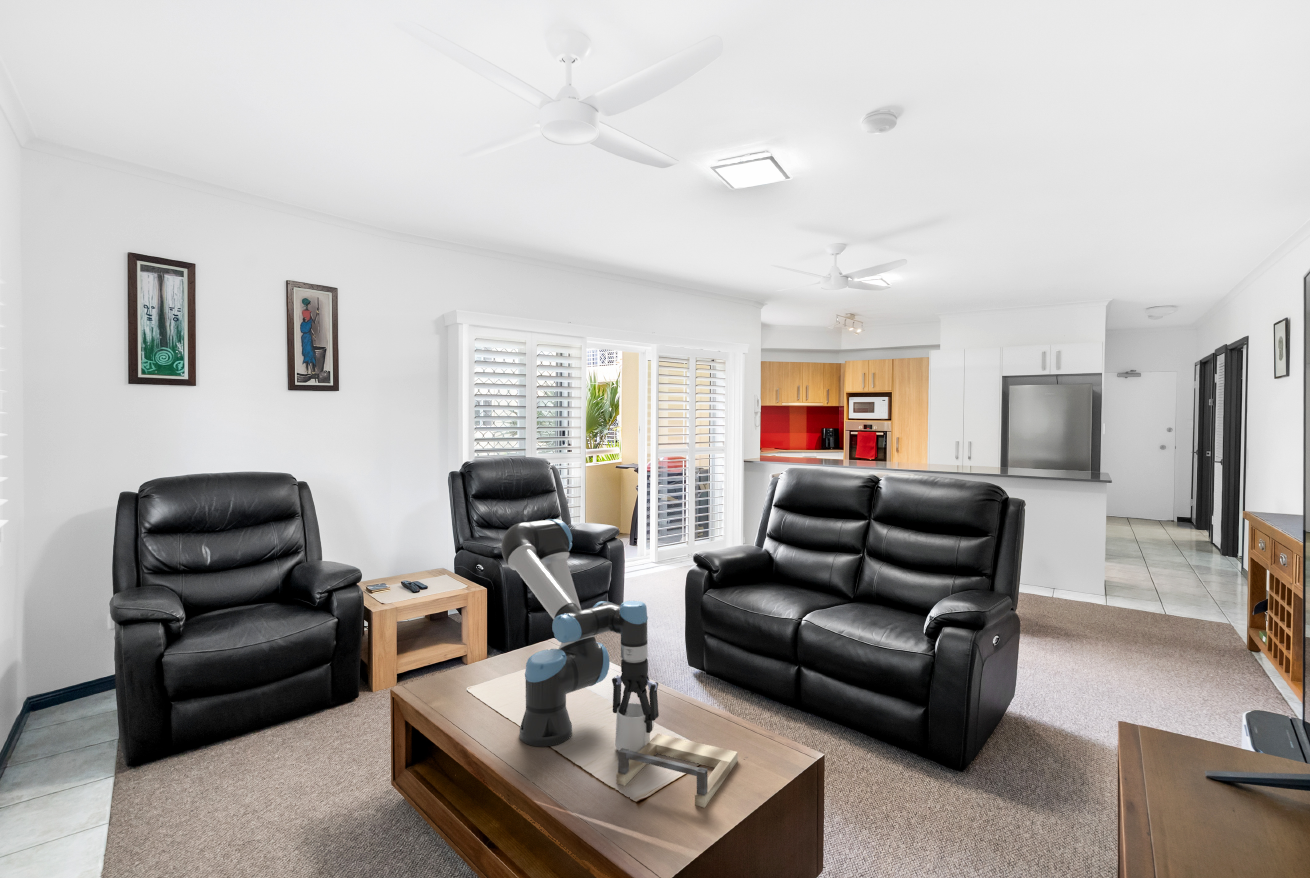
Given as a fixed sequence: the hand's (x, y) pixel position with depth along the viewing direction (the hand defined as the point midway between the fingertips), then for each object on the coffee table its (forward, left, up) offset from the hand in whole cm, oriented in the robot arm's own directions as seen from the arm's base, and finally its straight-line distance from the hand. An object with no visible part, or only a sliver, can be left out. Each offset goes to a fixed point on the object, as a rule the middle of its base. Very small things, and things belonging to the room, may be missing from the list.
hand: (635, 740), depth 180 cm
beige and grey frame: (+15, -5, -3) cm, 16 cm away
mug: (-1, +1, -3) cm, 3 cm away
